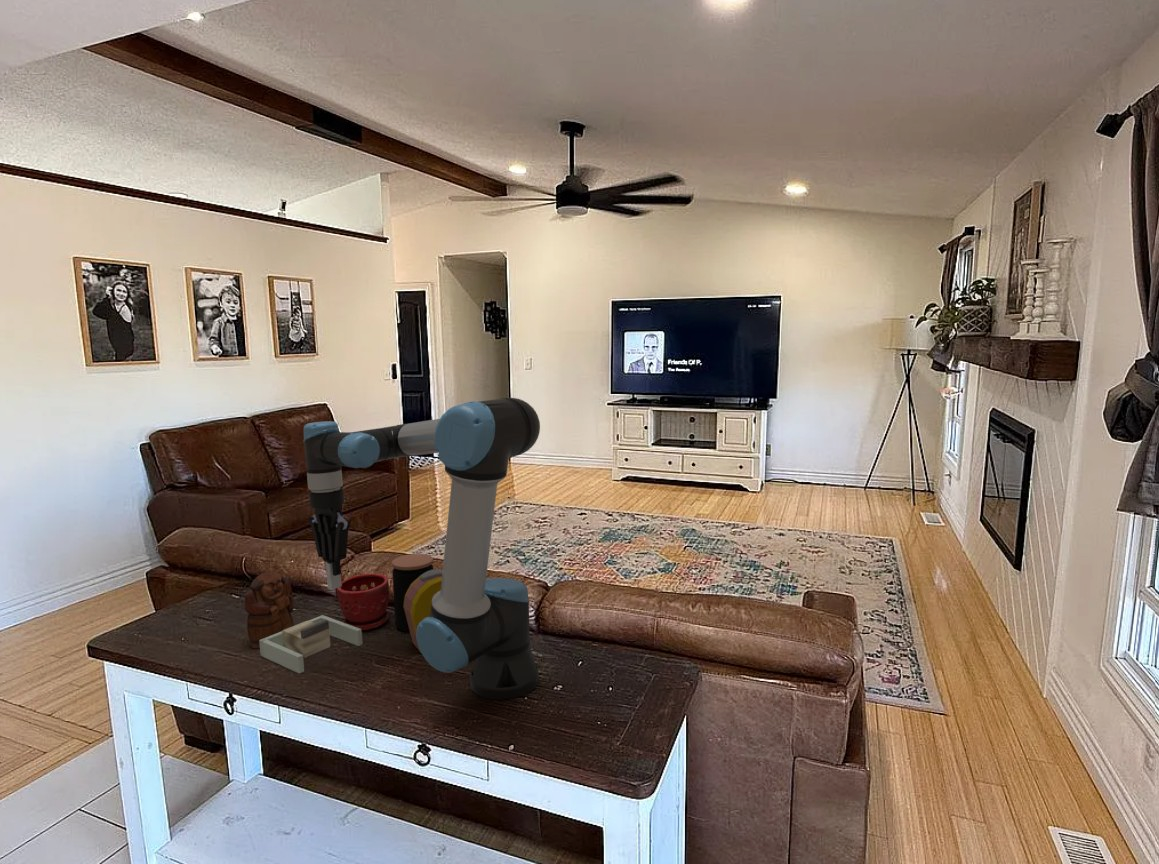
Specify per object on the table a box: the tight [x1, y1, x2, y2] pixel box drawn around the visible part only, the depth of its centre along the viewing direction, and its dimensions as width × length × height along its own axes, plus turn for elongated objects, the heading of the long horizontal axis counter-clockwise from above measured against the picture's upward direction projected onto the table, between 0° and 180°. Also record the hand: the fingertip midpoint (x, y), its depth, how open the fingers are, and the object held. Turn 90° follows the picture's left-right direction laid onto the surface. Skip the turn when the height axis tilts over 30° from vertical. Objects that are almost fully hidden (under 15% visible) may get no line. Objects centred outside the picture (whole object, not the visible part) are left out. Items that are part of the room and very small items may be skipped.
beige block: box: [282, 619, 331, 659], centre depth 164 cm, size 9×7×7 cm
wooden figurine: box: [244, 571, 295, 649], centre depth 168 cm, size 12×6×18 cm, turn 159°
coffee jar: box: [391, 553, 434, 633], centre depth 175 cm, size 11×11×18 cm
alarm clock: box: [403, 568, 443, 653], centre depth 165 cm, size 15×8×18 cm, turn 123°
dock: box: [259, 614, 363, 675], centre depth 163 cm, size 16×17×4 cm
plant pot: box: [336, 573, 390, 631], centre depth 177 cm, size 13×13×12 cm
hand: (334, 587), depth 154 cm, fingers closed
